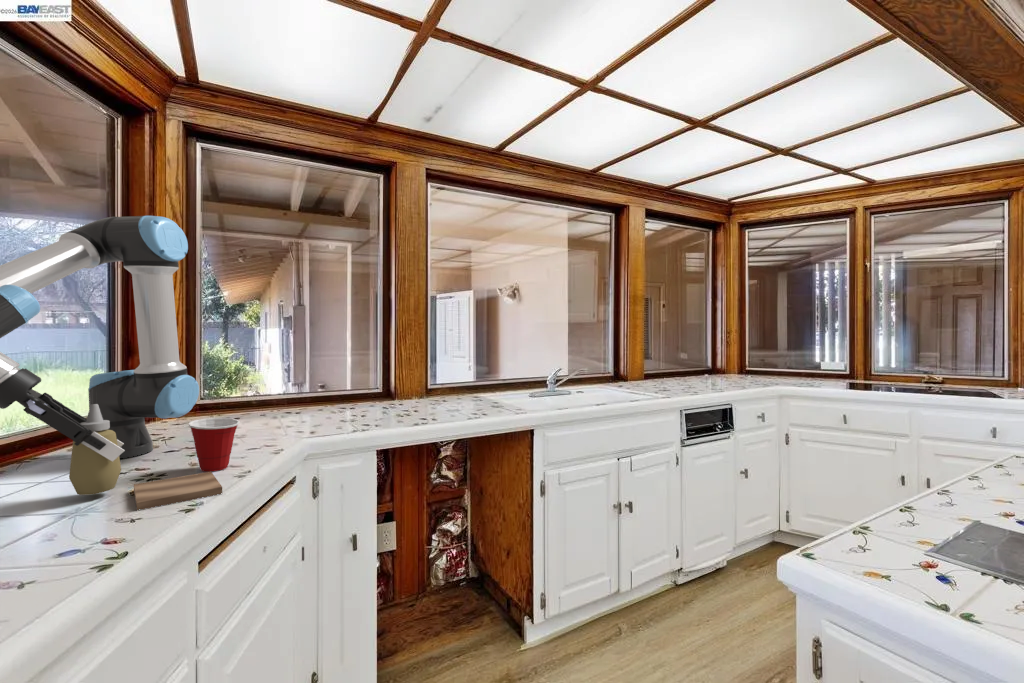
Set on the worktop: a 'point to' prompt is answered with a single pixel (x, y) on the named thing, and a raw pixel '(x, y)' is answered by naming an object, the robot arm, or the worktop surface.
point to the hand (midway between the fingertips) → (118, 452)
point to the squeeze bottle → (94, 459)
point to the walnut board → (176, 490)
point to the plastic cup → (213, 441)
